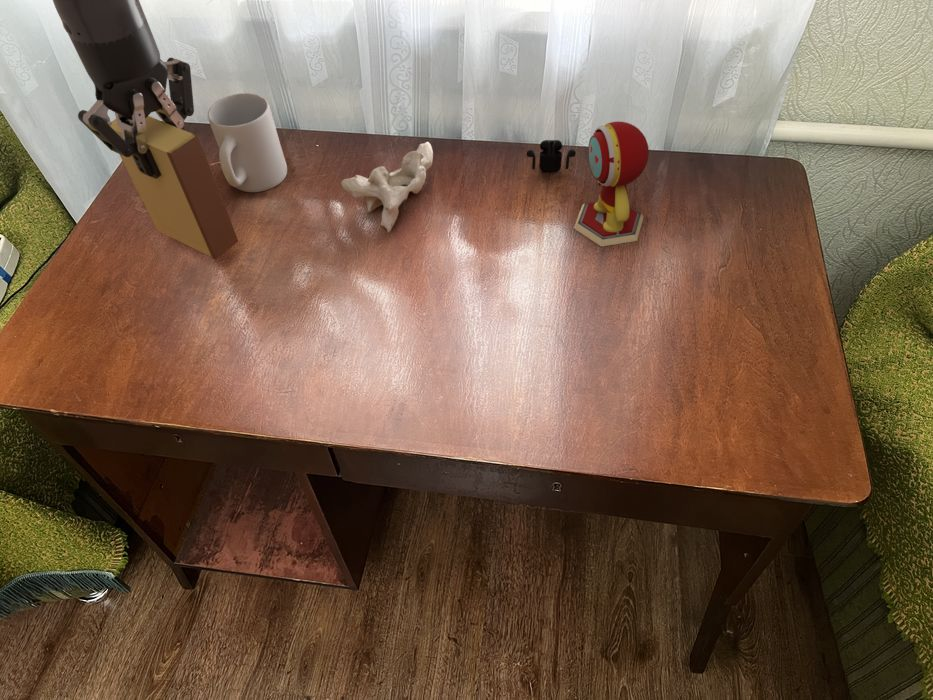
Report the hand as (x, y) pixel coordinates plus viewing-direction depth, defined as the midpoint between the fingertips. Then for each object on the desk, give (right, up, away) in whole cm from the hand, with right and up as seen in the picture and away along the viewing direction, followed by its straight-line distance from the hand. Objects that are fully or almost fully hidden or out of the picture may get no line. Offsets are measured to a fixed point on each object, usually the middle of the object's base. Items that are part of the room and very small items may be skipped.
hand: (168, 164), depth 83 cm
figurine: (+55, -5, +12) cm, 56 cm away
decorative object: (+25, -2, +16) cm, 30 cm away
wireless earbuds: (+48, +5, +20) cm, 52 cm away
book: (-5, 0, +5) cm, 7 cm away
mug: (+4, +3, +20) cm, 21 cm away
